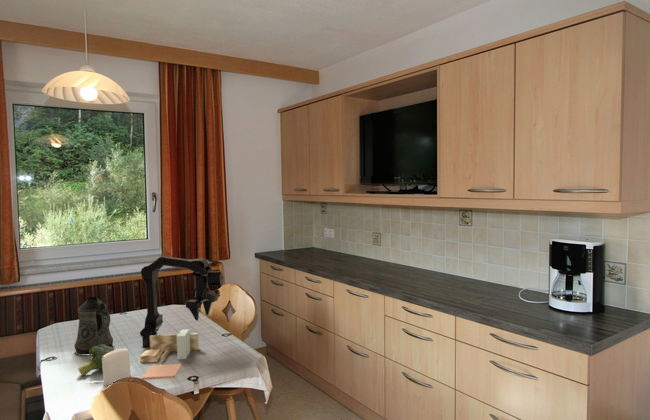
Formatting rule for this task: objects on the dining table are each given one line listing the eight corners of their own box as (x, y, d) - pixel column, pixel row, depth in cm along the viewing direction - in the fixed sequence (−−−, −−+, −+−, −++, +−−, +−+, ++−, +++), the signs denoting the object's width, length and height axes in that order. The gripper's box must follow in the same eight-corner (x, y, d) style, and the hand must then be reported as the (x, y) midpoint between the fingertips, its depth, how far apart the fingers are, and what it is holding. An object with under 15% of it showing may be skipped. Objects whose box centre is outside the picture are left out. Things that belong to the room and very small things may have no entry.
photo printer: (106, 386, 170) (104, 355, 169) (101, 383, 172) (99, 353, 172) (132, 377, 178) (130, 347, 177) (127, 374, 180) (125, 345, 180)
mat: (141, 379, 176) (141, 377, 176) (151, 366, 188) (151, 365, 188) (174, 377, 177) (174, 375, 177) (182, 365, 189) (181, 363, 189)
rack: (140, 364, 190) (139, 346, 190) (151, 352, 205) (150, 335, 204) (191, 362, 192) (191, 344, 191) (198, 349, 206) (198, 333, 206)
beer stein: (88, 343, 220) (85, 293, 219) (125, 342, 219) (123, 293, 217) (66, 355, 203) (63, 302, 202) (107, 355, 202) (104, 302, 201)
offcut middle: (140, 362, 191) (140, 359, 191) (146, 355, 199) (146, 352, 199) (157, 361, 192) (157, 358, 192) (162, 354, 200) (162, 351, 200)
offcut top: (140, 359, 191) (140, 356, 191) (146, 353, 198) (146, 350, 198) (155, 358, 192) (155, 355, 192) (160, 352, 199) (160, 349, 199)
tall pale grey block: (177, 360, 194) (176, 336, 193) (182, 353, 203) (181, 329, 202) (185, 360, 194) (184, 335, 193) (190, 352, 203) (189, 329, 202)
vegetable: (79, 364, 188) (113, 342, 193) (91, 389, 183) (126, 366, 189) (67, 356, 177) (104, 334, 183) (80, 383, 173) (117, 359, 178)
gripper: (205, 290, 198) (206, 324, 199) (225, 282, 216) (226, 313, 217) (184, 289, 201) (185, 323, 202) (205, 281, 219) (206, 311, 220)
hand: (202, 317), depth 210 cm, fingers open, 9 cm apart
